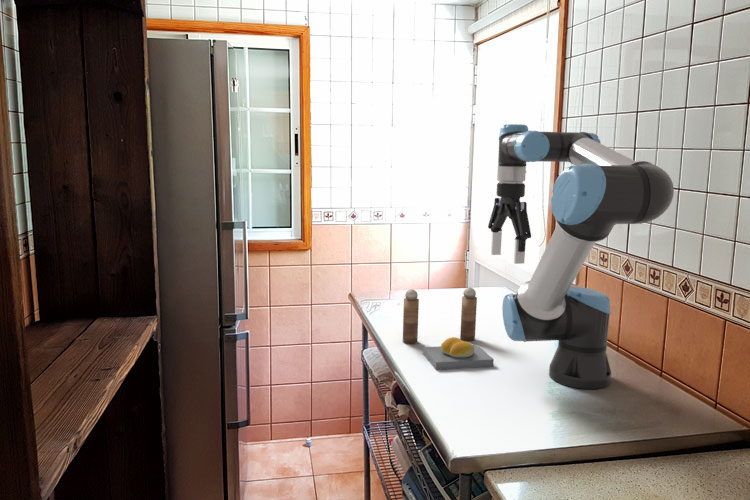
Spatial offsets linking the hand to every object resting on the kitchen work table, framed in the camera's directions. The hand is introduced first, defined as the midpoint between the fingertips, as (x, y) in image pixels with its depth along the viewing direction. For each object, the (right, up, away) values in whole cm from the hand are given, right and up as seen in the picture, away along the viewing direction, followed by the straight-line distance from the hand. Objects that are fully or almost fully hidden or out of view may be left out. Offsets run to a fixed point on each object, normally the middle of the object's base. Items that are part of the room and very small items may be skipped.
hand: (506, 259), depth 172 cm
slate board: (-14, -28, -3) cm, 31 cm away
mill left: (-26, -25, +12) cm, 38 cm away
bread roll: (-14, -26, -3) cm, 30 cm away
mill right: (-9, -25, +16) cm, 30 cm away
